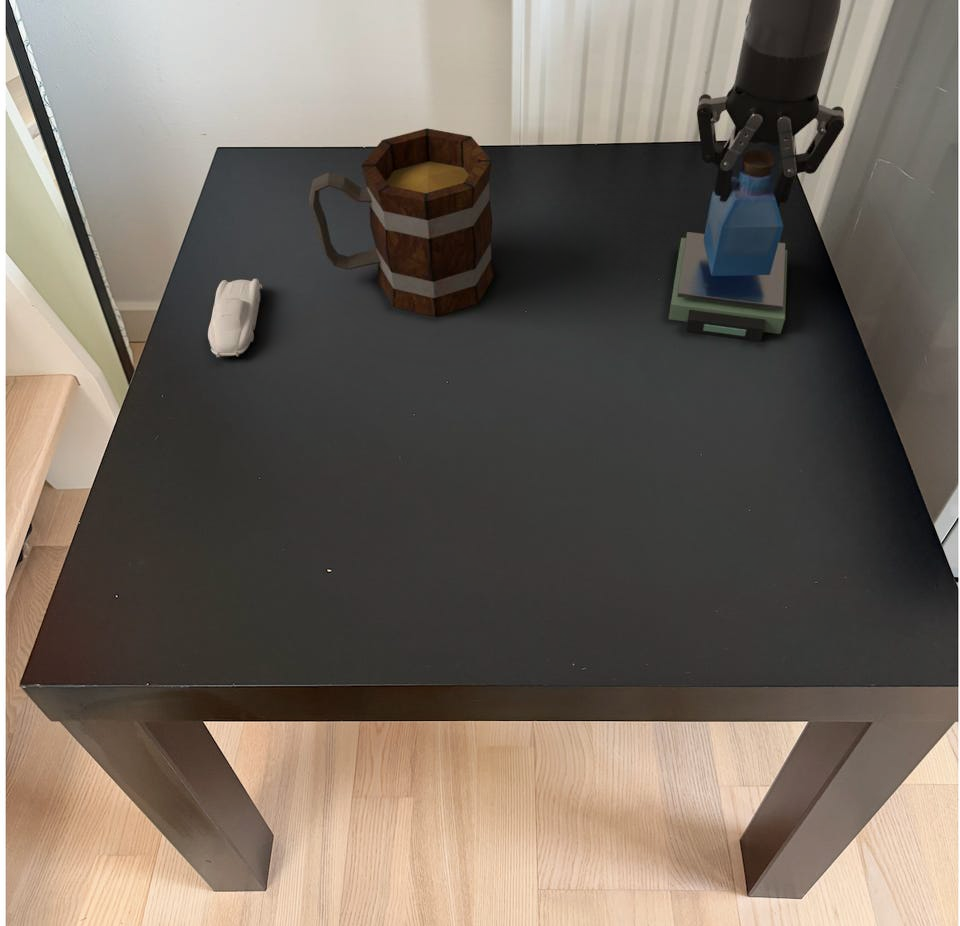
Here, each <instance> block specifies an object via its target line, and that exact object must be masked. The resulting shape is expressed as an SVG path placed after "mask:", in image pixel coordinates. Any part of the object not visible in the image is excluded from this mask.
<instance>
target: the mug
mask: <svg viewBox="0 0 960 926" xmlns="http://www.w3.org/2000/svg"><path fill="white" fill-rule="evenodd" d="M492 162H493V161H492V159H491V158H490V157H489V155H488V154H487V153H486V152H485V151H484V149H483V148H482V147H481V146H480V145H479V144H478V142H477V141H476V140H475V139H474V138H473V137H472V136H471V135H466V134H461V133H455V132H449V131H444V130H439V129H433V128H429V127H428V128H424V129H419V130H415V131H411V132H408V133H403V134H400V135H397V136H392V137H389V138H384V139H381V141H380V142H379V143H378V144H377V145H376V147H375V148H374V150H372V152H371V153H370V154H369V156H368V157H367V158H366V159H365V160H364V162H363V163H362V164H361V171H362V173H363V176H364V181H365V184H366V187H363V186H362V187H361V186H359V185H358V184H356V183H355V182H353V181H352V180H350V179H349V178H348V177H346V176H345V175H342V174H338V173H334V172H330V171H329V172H327V173H324V174H321V175H319V176H318V177H315V178H313V180H312V182H311V187H310V192H309V198H308V204H309V207H310V210H311V213H312V215H313V219H314V221H315V224H316V228H317V233H318V238H319V242H320V246H321V249H322V252H323V255H324V256H325V257H326V258H327V260H328V261H329V263H331V265H332V266H333V267H335V268H340V269H343V270H347V271H350V270H354V269H358V268H362V267H366V266H371V265H376V264H377V271H378V272H377V281H378V283H379V284H380V286H381V289H382V290H383V291H384V293H385V295H386V296H387V298H388V300H389V301H390V303H391V305H392V307H393V308H397V309H401V310H405V311H410V312H415V313H418V314H421V315H427V316H431V317H435V318H438V317H441V316H443V315H446V314H449V313H452V312H455V311H459V310H462V309H465V308H468V307H472V306H475V305H478V304H479V303H480V301H481V300H482V298H483V296H484V294H485V292H486V291H487V289H488V287H489V286H490V284H491V282H492V280H493V278H494V277H495V272H494V268H493V261H492V232H493V215H492V208H491V200H490V177H491V169H492ZM329 187H330V188H332V189H337V190H338V191H341V192H342V193H344V194H345V195H346V196H348V197H349V198H351V199H352V200H353V201H355V202H358V203H368V204H369V225H370V230H371V234H372V237H373V241H374V245H375V249H372V250H366V251H360V252H357V253H355V254H352V255H349V256H348V255H345V254H341V253H338V251H337V250H336V248H335V247H334V245H333V244H332V241H331V235H330V232H329V226H328V222H327V217H326V215H325V212H324V209H323V207H322V204H321V201H320V191H322V190H324V189H326V188H329Z"/></svg>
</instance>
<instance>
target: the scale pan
mask: <svg viewBox="0 0 960 926" xmlns="http://www.w3.org/2000/svg"><path fill="white" fill-rule="evenodd" d="M704 234H705V233H699V232H689V231H686V236H685V238H686V241H685V248H684V255H683V262H682V268H681V275H680V282H679V289H678V295H677V297H682V298H690V299H698V300H705V301H713V302H721V303H729V304H736V305H744V306H752V307H760V308H768V309H775V310H782V308H783V294H784V267H785V250H786V243H785V242H779V244H778V247H777V251H776V255H775V258H774V262H773V266H772V269H771V273H770V275H734V276H711V272H710V268H709V263H708V259H707V255H706V250H705V246H704V242H703V239H704Z"/></svg>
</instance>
